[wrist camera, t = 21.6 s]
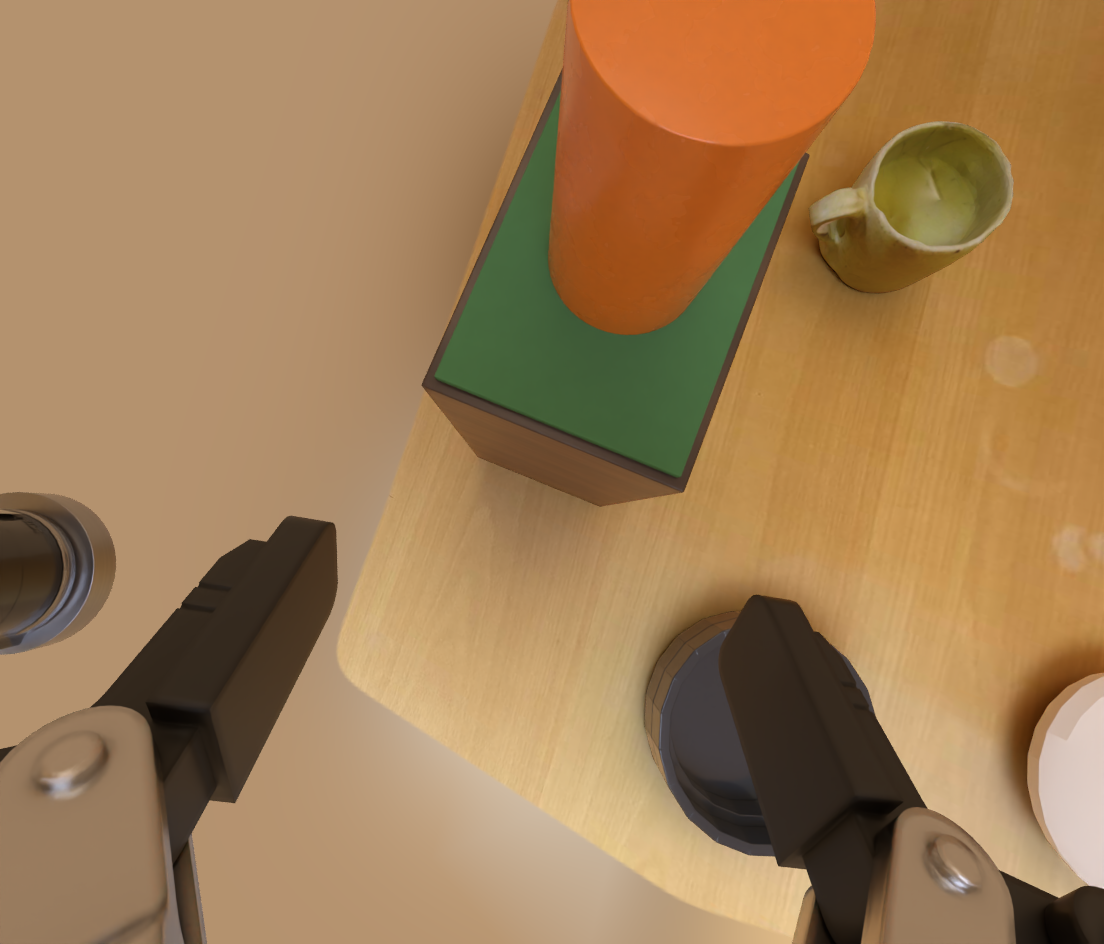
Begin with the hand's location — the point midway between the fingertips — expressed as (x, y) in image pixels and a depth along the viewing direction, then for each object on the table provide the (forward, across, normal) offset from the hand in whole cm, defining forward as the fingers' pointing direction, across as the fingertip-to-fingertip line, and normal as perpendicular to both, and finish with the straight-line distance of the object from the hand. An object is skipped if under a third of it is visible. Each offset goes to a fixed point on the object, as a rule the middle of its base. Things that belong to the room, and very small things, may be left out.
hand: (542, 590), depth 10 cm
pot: (+15, -19, +24) cm, 34 cm away
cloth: (+13, -2, -4) cm, 13 cm away
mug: (+37, -23, -5) cm, 44 cm away
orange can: (+12, -2, -4) cm, 13 cm away
